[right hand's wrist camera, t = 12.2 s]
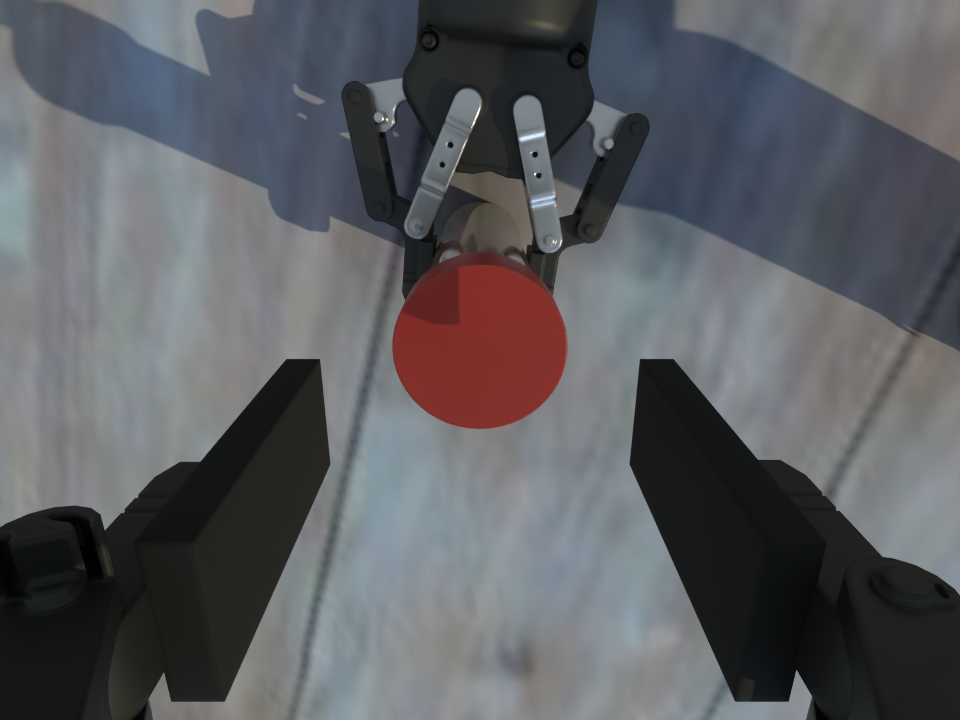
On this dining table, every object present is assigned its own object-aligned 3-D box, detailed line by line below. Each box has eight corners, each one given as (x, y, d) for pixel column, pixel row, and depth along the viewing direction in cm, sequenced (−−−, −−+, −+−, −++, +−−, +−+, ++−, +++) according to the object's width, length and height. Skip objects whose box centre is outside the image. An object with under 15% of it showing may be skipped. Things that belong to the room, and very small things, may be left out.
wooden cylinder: (533, 233, 36) (583, 333, 18) (486, 291, 37) (492, 437, 20) (473, 185, 35) (466, 242, 17) (427, 246, 36) (377, 358, 19)
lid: (593, 318, 20) (604, 336, 18) (492, 432, 21) (494, 459, 19) (465, 217, 19) (463, 226, 17) (368, 345, 20) (358, 365, 18)
